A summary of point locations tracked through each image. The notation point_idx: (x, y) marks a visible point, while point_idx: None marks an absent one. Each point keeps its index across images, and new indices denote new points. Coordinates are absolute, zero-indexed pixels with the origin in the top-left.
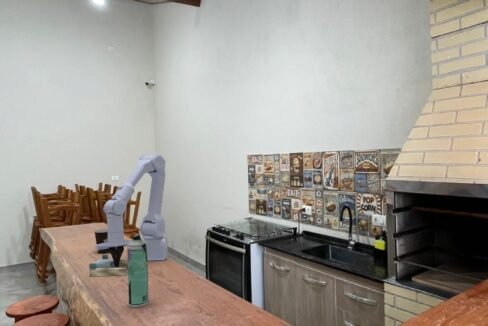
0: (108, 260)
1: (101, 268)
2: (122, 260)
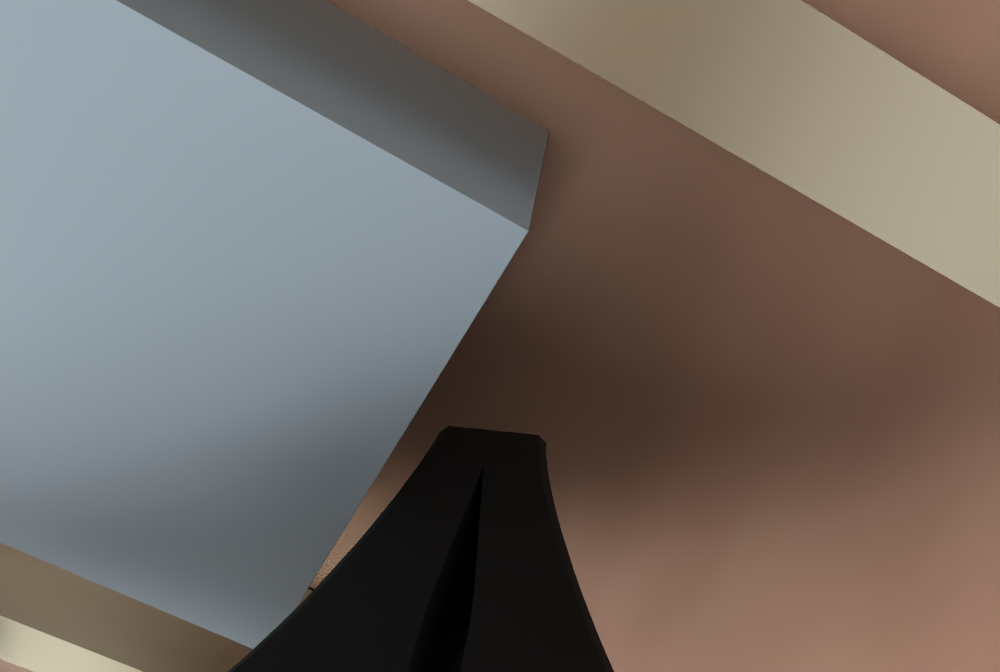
0: (206, 275)
1: (119, 665)
2: (799, 181)
